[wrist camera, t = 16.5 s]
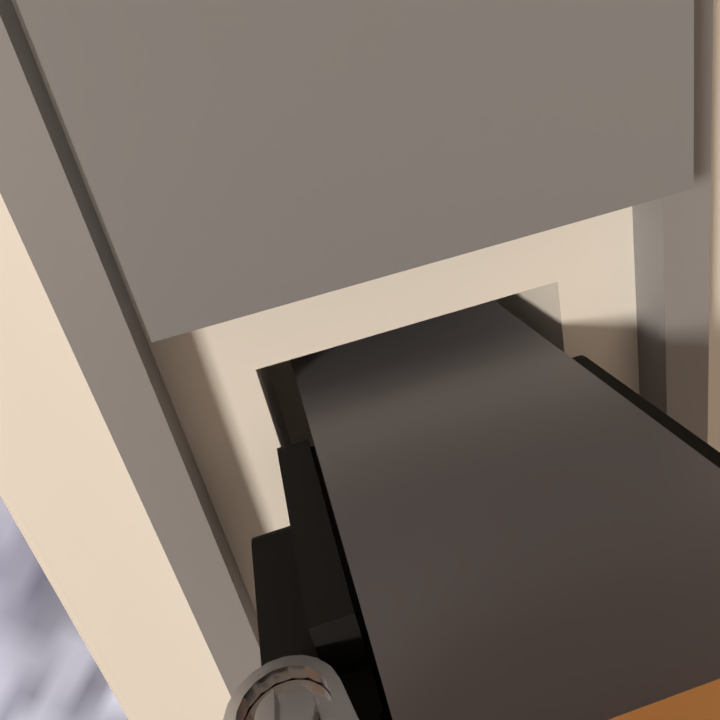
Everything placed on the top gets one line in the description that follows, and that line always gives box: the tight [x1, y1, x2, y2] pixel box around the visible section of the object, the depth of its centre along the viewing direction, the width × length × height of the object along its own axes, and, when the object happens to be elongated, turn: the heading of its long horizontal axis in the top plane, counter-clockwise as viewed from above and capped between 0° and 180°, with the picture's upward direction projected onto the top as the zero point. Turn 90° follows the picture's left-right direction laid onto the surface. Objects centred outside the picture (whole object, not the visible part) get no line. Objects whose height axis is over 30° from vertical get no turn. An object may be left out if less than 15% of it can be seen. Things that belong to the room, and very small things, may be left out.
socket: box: [0, 0, 720, 720], centre depth 12 cm, size 20×14×6 cm
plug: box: [291, 300, 720, 720], centre depth 9 cm, size 5×5×10 cm
